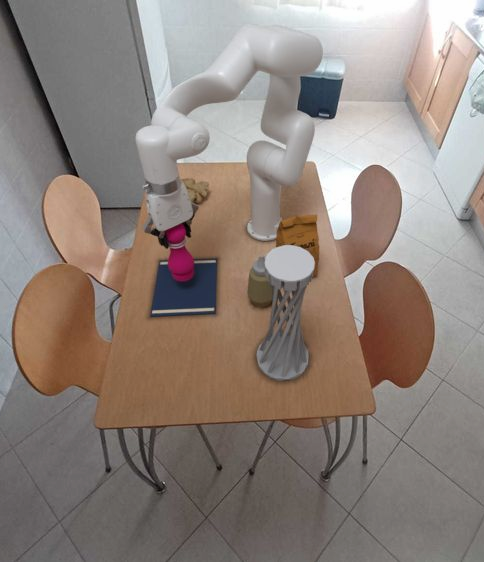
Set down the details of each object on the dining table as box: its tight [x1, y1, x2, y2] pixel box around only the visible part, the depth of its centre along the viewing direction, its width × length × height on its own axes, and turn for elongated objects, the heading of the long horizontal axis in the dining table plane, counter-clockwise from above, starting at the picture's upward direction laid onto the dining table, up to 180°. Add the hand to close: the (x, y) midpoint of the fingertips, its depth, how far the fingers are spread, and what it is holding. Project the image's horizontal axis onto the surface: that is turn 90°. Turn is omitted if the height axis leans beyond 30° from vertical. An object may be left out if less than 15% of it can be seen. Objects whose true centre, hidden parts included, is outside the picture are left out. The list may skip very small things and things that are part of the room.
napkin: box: [149, 257, 218, 318], centre depth 117 cm, size 18×22×1 cm
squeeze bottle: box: [246, 253, 273, 308], centre depth 107 cm, size 8×8×18 cm
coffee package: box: [275, 214, 320, 277], centre depth 113 cm, size 10×12×22 cm
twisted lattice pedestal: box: [255, 245, 315, 382], centre depth 88 cm, size 14×13×35 cm
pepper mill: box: [164, 223, 195, 281], centre depth 105 cm, size 7×7×20 cm
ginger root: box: [180, 177, 210, 204], centre depth 143 cm, size 16×16×8 cm
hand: (176, 239), depth 103 cm, fingers closed on pepper mill, 6 cm apart
